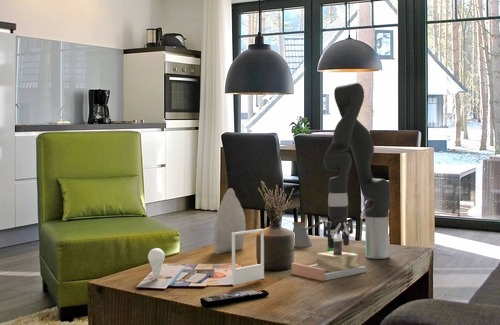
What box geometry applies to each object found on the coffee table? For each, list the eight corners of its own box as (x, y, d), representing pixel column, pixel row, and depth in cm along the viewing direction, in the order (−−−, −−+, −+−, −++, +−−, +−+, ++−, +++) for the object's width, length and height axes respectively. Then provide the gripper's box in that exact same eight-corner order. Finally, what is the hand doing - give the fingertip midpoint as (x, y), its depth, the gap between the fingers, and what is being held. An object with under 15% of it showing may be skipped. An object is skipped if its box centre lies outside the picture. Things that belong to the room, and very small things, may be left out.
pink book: (334, 265, 244) (334, 255, 244) (365, 271, 232) (365, 261, 231) (291, 273, 229) (291, 263, 229) (322, 280, 216) (322, 269, 216)
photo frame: (261, 278, 222) (261, 228, 221) (264, 278, 221) (263, 229, 221) (231, 284, 212) (231, 232, 211) (233, 284, 211) (233, 233, 211)
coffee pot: (281, 250, 282) (281, 218, 281) (298, 247, 290) (298, 216, 289) (317, 256, 266) (317, 221, 266) (333, 252, 274) (333, 219, 274)
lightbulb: (167, 277, 224) (167, 247, 224) (160, 280, 218) (159, 250, 218) (153, 276, 226) (152, 246, 226) (145, 279, 220) (144, 249, 220)
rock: (220, 259, 259) (220, 189, 258) (206, 257, 265) (205, 188, 264) (252, 253, 273) (251, 187, 272) (237, 251, 279) (237, 186, 278)
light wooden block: (334, 265, 241) (334, 238, 241) (358, 270, 232) (358, 241, 232) (317, 269, 235) (317, 240, 234) (340, 273, 225) (340, 244, 225)
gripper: (342, 202, 240) (343, 243, 240) (318, 205, 231) (318, 247, 231) (357, 203, 234) (358, 245, 235) (332, 206, 225) (333, 250, 225)
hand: (338, 246), depth 233 cm, fingers open, 8 cm apart
